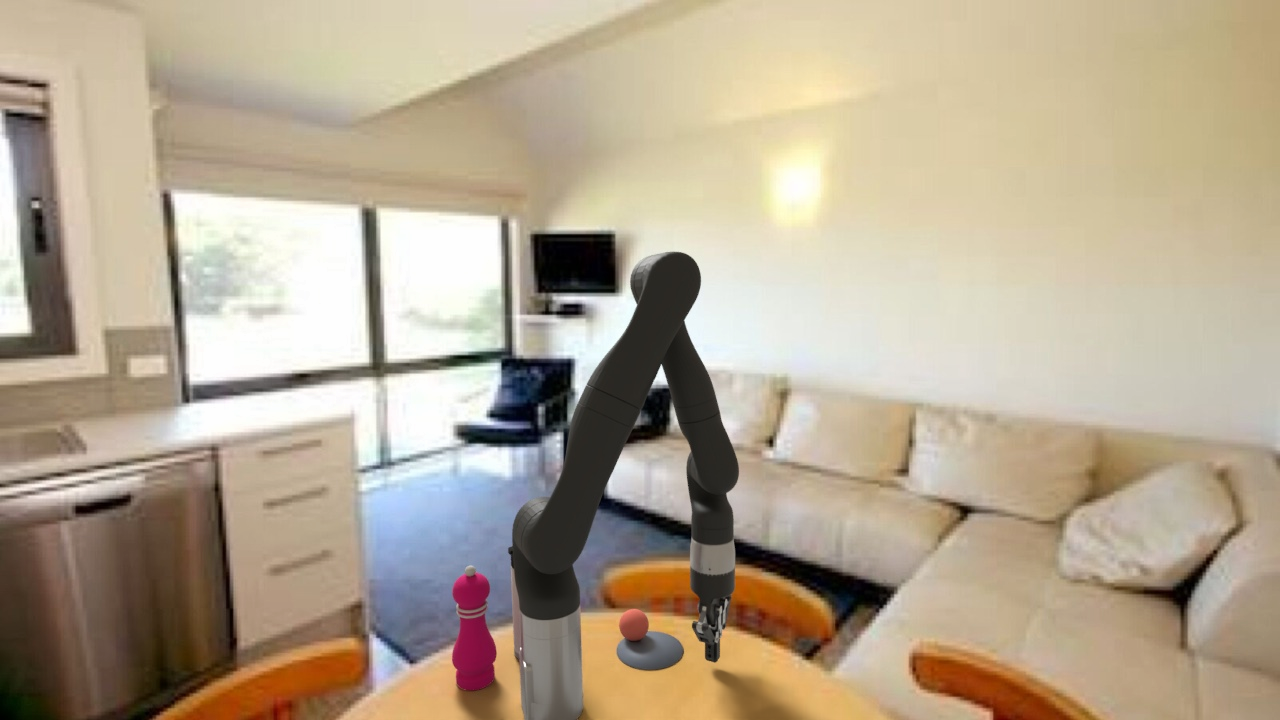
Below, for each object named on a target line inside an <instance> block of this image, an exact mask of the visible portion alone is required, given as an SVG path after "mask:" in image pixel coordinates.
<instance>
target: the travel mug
mask: <svg viewBox="0 0 1280 720" xmlns="http://www.w3.org/2000/svg"><path fill="white" fill-rule="evenodd" d="M507 553H508V555H510V578H511V581H510V583H511V604H512V605H511V608H512V609H511V610H512V629H513V630H512V633H513V653H514V656H515V657H516V658H517V659H518V660H520V659H519V648H521V636H520V611H519V597H518V592H517V588H516V584H515V575H514V561H513V545H512V546H510V547H508V548H507Z"/></svg>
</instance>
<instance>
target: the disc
mask: <svg viewBox="0 0 1280 720" xmlns="http://www.w3.org/2000/svg"><path fill="white" fill-rule="evenodd" d="M615 652H616V657H618V659H619V661H621V662H622V663H623V664H625V665H626V666H628V667H630V668H633V669H637V670H641V671H642V670H643V671H654V670H655V671H656V670H662V669H665V668H669V667H671V666H673V665H675V664H676V663H678V662H679V660H680V659H682V656H683V654H684V646H683V644H682V643H681V642H680V640H679V639H678V638H676V637H675V636H673V635H671V634H668V633H665V632H661V631H656V630H648V631H647V633H646V635H645V636H644V637H643V638H642V639H640V640H637V641H630V640H628V639H626V638H625V637H624V638H622V639H621V640H620V641H619V643H618V644H617V646H616V651H615Z"/></svg>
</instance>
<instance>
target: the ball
mask: <svg viewBox="0 0 1280 720" xmlns="http://www.w3.org/2000/svg"><path fill="white" fill-rule="evenodd" d="M649 626H650V623H649V619H648V616H647V615H646V613H644V612H643V611H642V610H640V609H637V608H630V609H627V610H626V611H625V612H623V613H622V615H621V616H620V618H619V624H618V627H619V631H620V634H621V635H622V636H623V637H624V638H626V639H628V640H630V641H637V640H640V639H642V638H643V637H644V636H645V635H646V633H647V631H649V629H650V628H649Z"/></svg>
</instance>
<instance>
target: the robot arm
mask: <svg viewBox="0 0 1280 720" xmlns="http://www.w3.org/2000/svg"><path fill="white" fill-rule="evenodd" d="M701 274H702V273H701V269H700V268H699V265H698V263H697V262H696V260H695V259H694V258H693V257H692V256H691V255H689V254H687V253H686V252H682V251H681V252H680V251H666V252H660V253H655V254H651V255H648V256H645V257H643V258H642V259H640V260H639V261H638V262H637V263H636V264H635V266H634V267H633V268H632V271H631V274H630V281H629V285H630V287H629V288H630V290H631V294H632V296H633V299H634V301H635V304H636V307H635V309H634V311H633V313H632V316H631V319H630V321H629V323H628V324H627V326H626V328H625V330H624V331H623V333H621V334H622V335H621V336H620V337H619V338H618V339H617V341H616V342H615V343H614V345H613V346H612V347H611V348H610V349H609V350H608V351H607V353H606V354H605V355H604V356H603V358H602V359H601V360H600V362H599V363H598V365H596V366H597V367H595V369H594V370H593V372H592V373H591V375H590V377H589V379H588V381H587V382H586V385H585V387H584V389H583V391H582V393H581V395H580V397H579V399H578V402H577V404H576V406H575V409H574V412H573V414H572V418H571V421H570V426H569V431H568V439H567V444H566V449H565V450H566V451H565V457H564V462H563V466H562V470H561V472H560V475H559V478H558V481H557V483H556V485H555V487H554V489H553V490H552V493H551V495H550V496H538V497H535V498H532V499H530V500H528V501H526V502H525V503H524V504H523V505H522V506H521V507H520V508H519V510H518V511H517V513H516V514H515V517H514V520H513V524H512V528H511V531H512V532H511V536H512V538H511V540H512V541H511V543H512V546H513V561H514V575H515V584H516V588H517V592H518V597H519V611H520V636H521V648H519V659H518V660H519V677H520V679H519V683H520V684H519V685H520V703H521V704H520V705H521V708H522V714H523V717H524V720H578V719H579V718H580V716H581V715H582V713H583V710H584V689H583V688H584V687H583V685H584V684H583V654H582V627H581V626H582V624H581V623H582V622H581V618H582V617H581V613H582V612H581V587H580V583H579V581H578V578H577V576H576V573H575V570H574V563H576V561H577V560H578V559H579V557H580V556H581V554H582V553H583V551H584V550H585V549H584V548H585V546H586V543H587V541H588V538H589V535H590V532H591V529H592V527H593V524H594V521H595V518H596V514H597V512H598V510H599V505H600V503H601V499H602V497H603V494H604V492H605V490H606V487H607V485H608V483H609V480H610V479H611V476H612V474H613V472H614V470H615V468H616V466H617V463H618V461H619V458H620V456H621V454H622V452H623V449H624V447H625V445H626V443H627V441H628V440H629V437H630V435H631V433H632V431H633V429H634V427H635V425H636V423H637V420H638V419H639V416H640V414H641V412H642V410H643V407H644V406H645V402H646V400H647V398H648V396H649V393H650V391H651V388H652V386H653V384H654V382H655V379H656V377H657V375H658V373H659V370H660V369H661V367H662V370H663V373H664V377H665V379H666V382H667V386H668V390H669V393H670V397H671V401H672V405H673V407H674V409H673V410H674V412H675V416H676V420H677V422H678V426H679V429H680V432H681V434H682V435H683V436H684V439H686V441H687V443H688V445H689V449H690V452H689V453H688V456H687V460H686V466H685V467H686V472H685V473H686V481H687V482H686V483H687V488H688V495H689V500H690V506H691V517H690V518H691V521H690V522H691V523H690V524H691V536H690V537H691V541H690V548H689V550H690V551H689V577H690V578H689V580H690V581H689V585H690V590H691V592H693V593H694V595H696V596H697V597H698V599H699V600H698V603H697V611H698V614H699V615H698V617H699V618H698V619H697V621H696V620H693V621H692V624H691V629H692V630H693V633H694V634H695V636H696V638H697V641H699V642H701V643H704V659H705V660H706V661H708V662H711V663H715V664H716V663H717V662H719V661H718V660H719V659H720V658H721V639H722V636H723V630H726V627H727V621H728V615H729V610H730V605H731V601H732V594H733V593H734V592H735V588H736V548H735V547H736V546H735V542H734V541H735V540H734V539H735V538H734V535H735V534H734V529H735V527H734V525H735V524H734V509H733V508H732V506H731V504H730V502H729V500H728V499H729V498H728V496H727V494H728V493H730V492H731V491H732V490H733V489H734V488H735V487H736V485H737V483H738V481H739V477H740V476H739V475H740V467H739V462H738V458H737V454H736V452H735V449H734V447H733V444H732V442H731V439H730V437H729V434H728V432H727V430H726V428H725V426H724V423H723V421H722V416H721V415H722V414H721V412H720V405H719V403H718V399H717V394H716V391H715V388H714V385H713V384H714V383H713V382H712V379H711V376H710V374H709V372H708V370H707V368H706V365H705V364H704V362H703V360H702V358H701V357H700V355H699V353H698V351H697V350H696V347H695V346H694V344H693V341H692V339H691V337H690V336H691V335H690V334H689V331H688V329H687V325H686V322H685V319H686V318H687V316H688V314H689V313H690V312H691V310H692V308H693V306H694V304H695V303H696V301H697V300H698V296H699V295H700V294H699V293H700V290H701V285H702V275H701Z"/></svg>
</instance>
